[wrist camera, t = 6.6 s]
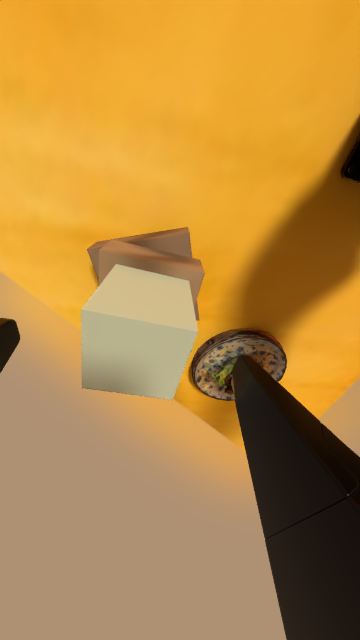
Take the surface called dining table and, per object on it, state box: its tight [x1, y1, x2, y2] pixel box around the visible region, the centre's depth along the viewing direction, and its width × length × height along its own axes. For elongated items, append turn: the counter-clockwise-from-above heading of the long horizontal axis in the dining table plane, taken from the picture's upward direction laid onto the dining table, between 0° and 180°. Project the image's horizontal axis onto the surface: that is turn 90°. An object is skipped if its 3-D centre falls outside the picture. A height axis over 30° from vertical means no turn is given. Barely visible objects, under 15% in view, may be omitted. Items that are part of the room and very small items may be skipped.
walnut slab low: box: [87, 227, 199, 320], centre depth 19 cm, size 8×8×3 cm
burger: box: [192, 329, 287, 401], centre depth 24 cm, size 12×12×8 cm
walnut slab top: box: [99, 239, 205, 306], centre depth 16 cm, size 7×7×3 cm
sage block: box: [81, 264, 198, 400], centre depth 12 cm, size 5×5×6 cm
